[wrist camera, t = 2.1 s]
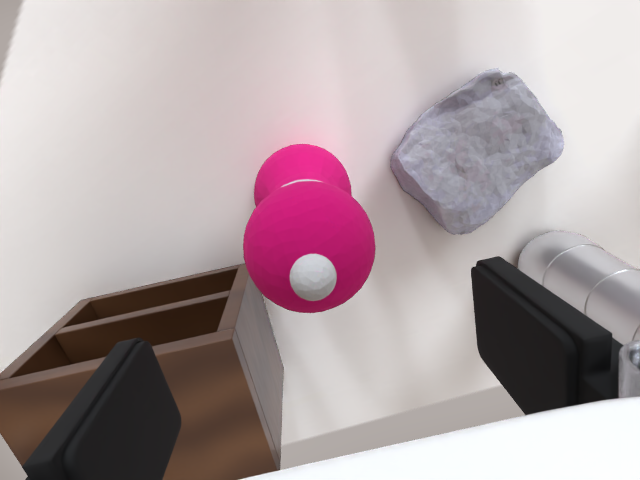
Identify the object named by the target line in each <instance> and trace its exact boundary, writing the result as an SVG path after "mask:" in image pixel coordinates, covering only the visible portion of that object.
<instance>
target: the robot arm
mask: <svg viewBox="0 0 640 480" xmlns="http://www.w3.org/2000/svg"><path fill="white" fill-rule="evenodd" d="M471 278H472V289H473V301H474V312H475V324H476V335H477V346H478V351H479V354H480V356H481V358H482V360H483V361H484V362H485V364H486V365H487V366H488V367H489V369H490V370H491V371H492V373H493V374H494V375H495V376H496V378H497V379H498V380H499V381H500V383H501V384H502V385H503V387H504V388H505V389H506V390H507V392H508V393H509V394H510V396H511V397H512V398H513V399H514V401H515V402H516V403H517V405H518V406H519V407H520V408H521V410H522V411H523V412H524V413H525V416H520V417H515V418H511V419H506V420H502V421H497V422H493V423H488V424H484V425H479V426H475V427H470V428H466V429H461V430H457V431H452V432H448V433H443V434H438V435H434V436H430V437H425V438H420V439H416V440H411V441H407V442H403V443H398V444H394V445H389V446H385V447H381V448H376V449H372V450H367V451H363V452H358V453H354V454H349V455H345V456H341V457H336V458H332V459H328V460H323V461H318V462H314V463H310V464H305V465H301V466H297V467H292V468H288V469H283V470H279V471H274V472H270V473H265V474H261V475H257V476H252V477H248V478H243V479H239V480H640V340H635V341H632V342H629V343H626V344H625V345H623V344H621V343H620V342H618V341H617V340H615V339H614V338H613V337H612V333H611V332H610V331H608V330H607V329H605V328H604V327H602V326H601V325H599V324H598V323H596V322H595V321H594V320H592V319H591V318H589V317H588V316H586V315H585V314H583V313H582V312H580V311H579V310H577V309H576V308H574V307H573V306H571V305H570V304H569V303H567V302H566V301H564V300H563V299H561V298H560V297H558V296H557V295H555V294H554V293H552V292H551V291H549V290H548V289H547V288H545V287H544V286H542V285H541V284H539V283H538V282H536V281H535V280H533V279H532V278H530V277H529V276H527V275H526V274H525V273H523V272H522V271H520V270H519V269H517V268H516V267H514V266H513V265H511V264H510V263H508V262H507V261H505V260H504V259H503V258H501V257H499V256H498V257H493V258H489V259H484V260H480V261H478V262H477V264H476V267H472V269H471ZM181 423H182V422H181V415H180V412H179V409H178V407H177V405H176V402H175V400H174V398H173V395H172V393H171V391H170V388H169V386H168V384H167V381H166V379H165V376H164V374H163V372H162V369H161V367H160V365H159V362H158V360H157V358H156V355H155V353H154V351H153V348H152V346H151V344H150V343H149V342H148V341H144V340H143V339H142V338H134V339H130V340H126V341H121V342H118V343H117V344H116V345H115V346H114V347H113V349H112V350H111V351H110V353H109V354H108V355H107V356H106V358H105V359H104V360H103V362H102V363H101V364H100V366H99V367H98V368H97V369H96V371H95V372H94V373H93V375H92V376H91V377H90V379H89V380H88V381H87V383H86V384H85V385H84V386H83V388H82V389H81V390H80V392H79V393H78V394H77V396H76V397H75V398H74V400H73V401H72V402H71V403H70V405H69V406H68V407H67V409H66V410H65V411H64V413H63V414H62V415H61V417H60V418H59V419H58V420H57V422H56V423H55V424H54V426H53V427H52V428H51V430H50V431H49V432H48V434H47V435H46V436H45V437H44V439H43V440H42V441H41V443H40V444H39V445H38V447H37V448H36V449H35V450H34V452H33V453H32V454H31V456H30V457H29V458H28V460H27V461H26V462H25V464H24V465H23V466H22V468H23V469H24V471H25V472H26V474H27V475H28V477H27V478H26V480H163V477H164V474H165V471H166V468H167V465H168V463H169V460H170V457H171V454H172V451H173V449H174V446H175V443H176V440H177V437H178V434H179V432H180V429H181Z"/></svg>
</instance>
